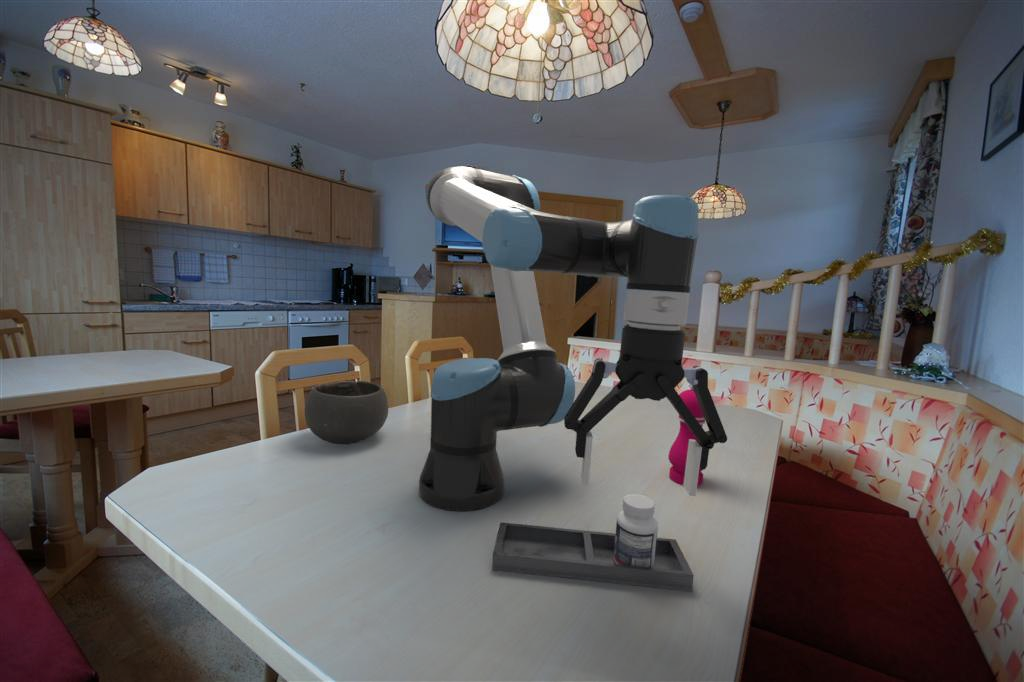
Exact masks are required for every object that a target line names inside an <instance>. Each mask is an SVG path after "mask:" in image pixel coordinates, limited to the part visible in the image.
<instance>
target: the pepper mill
mask: <svg viewBox="0 0 1024 682" xmlns="http://www.w3.org/2000/svg"><path fill="white" fill-rule="evenodd" d="M689 388H690V389H685V390H683V391H681V392H680V393H678V394H679V396H680V397H681V398H682V400H683V402H684V403H685V404H686V406H687V407H688V409H689V410H690V411H691V413H692V414H693V416H694V417H695V418H696V420H697V421H698V422H699V424H700V425H701V427H702V428H703V425H705V424H706V421H705V418H704V416H703V413H702V410H701V408H700V405H699V403H698V400H697V398H696V395H695V392H694V390H693V387H692V385H691V384H689ZM677 420H678V421H679V430H678V434H677V436H676V438H675V440H674V442H673V443H672V445H671V447H670V448H669V452H668V461H669V463H670V465H671V467H670V468H669V474H668V476H669V478H670V480H671V481H673V482H675V483H676V484H679V485H681V486H683V484H684V476H685V468H686V460H687V452H688V444H689V439H692V440H696V439H697V438H696V437H695V436H694V434H693V433H692V431H691V430H690V429H689V427H688V426H687V425H686V423H685V422H684V420H683V419H682V418H681V416H680V415H679V414H678V417H677ZM702 471H704V469H699V475H698V483H697V487H700V486H702V484H703V481H704V473H703V472H702Z"/></svg>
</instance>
